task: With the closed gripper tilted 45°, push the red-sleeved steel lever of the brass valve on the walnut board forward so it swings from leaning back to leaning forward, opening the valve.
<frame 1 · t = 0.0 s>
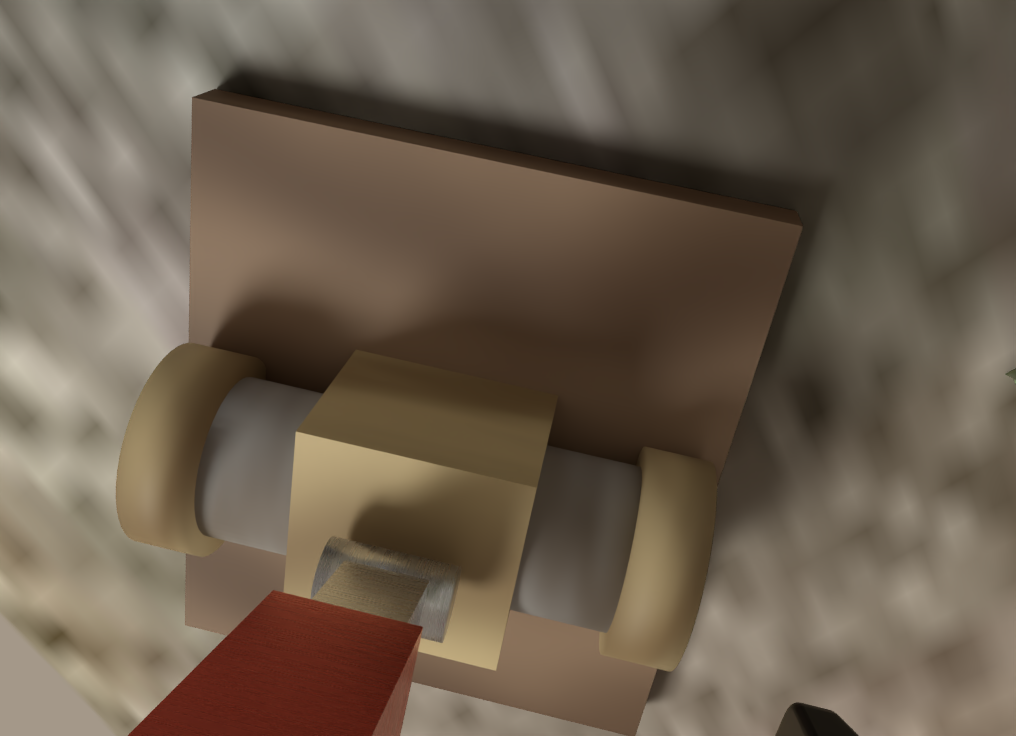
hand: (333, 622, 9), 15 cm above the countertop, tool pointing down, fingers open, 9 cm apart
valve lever: (333, 672, 15), point 10 cm above the countertop, hinge at -20.0°
valve stand: (451, 436, 25), on the countertop
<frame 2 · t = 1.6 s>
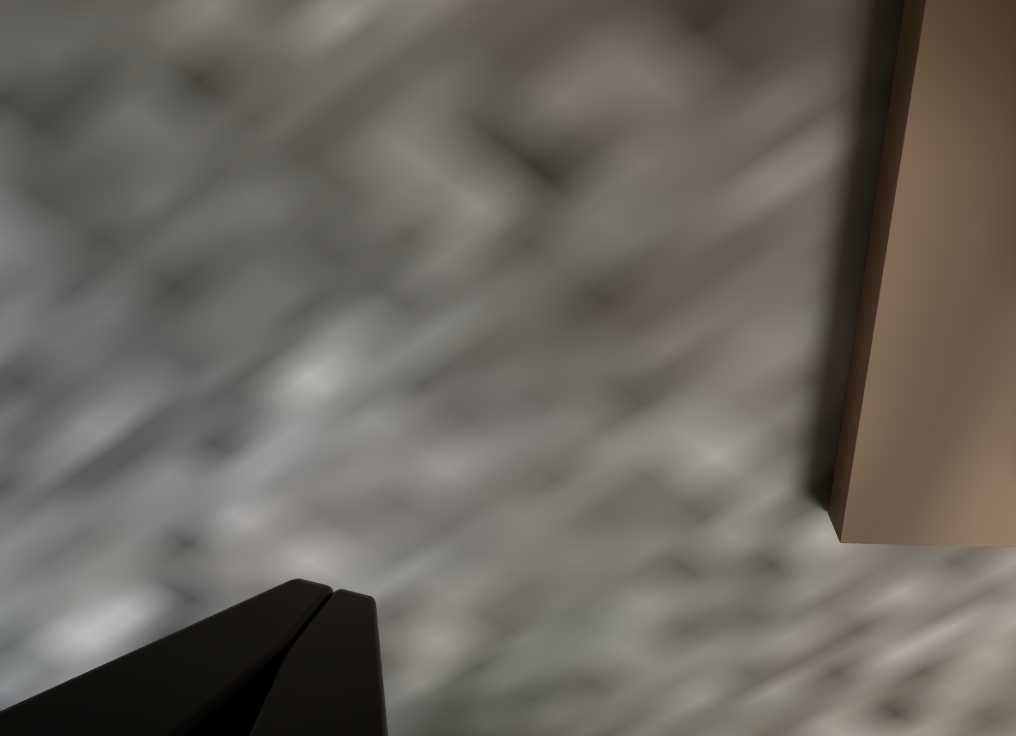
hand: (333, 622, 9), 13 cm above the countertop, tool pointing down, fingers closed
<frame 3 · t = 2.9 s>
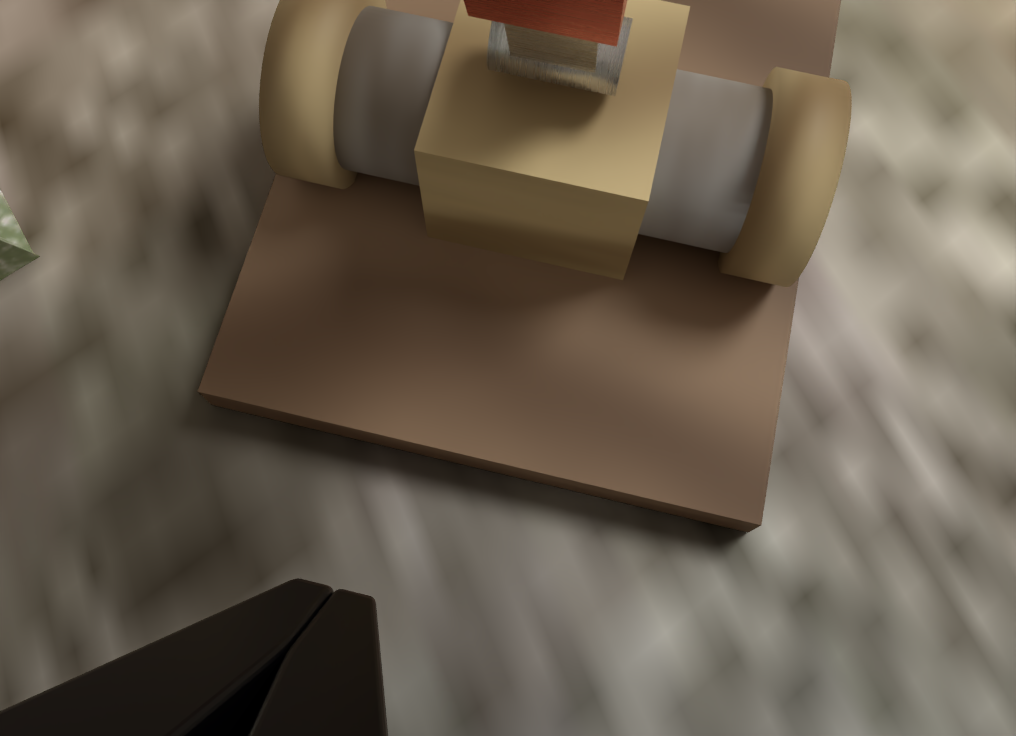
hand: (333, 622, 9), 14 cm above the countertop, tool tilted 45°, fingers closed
valve stand: (544, 194, 26), on the countertop
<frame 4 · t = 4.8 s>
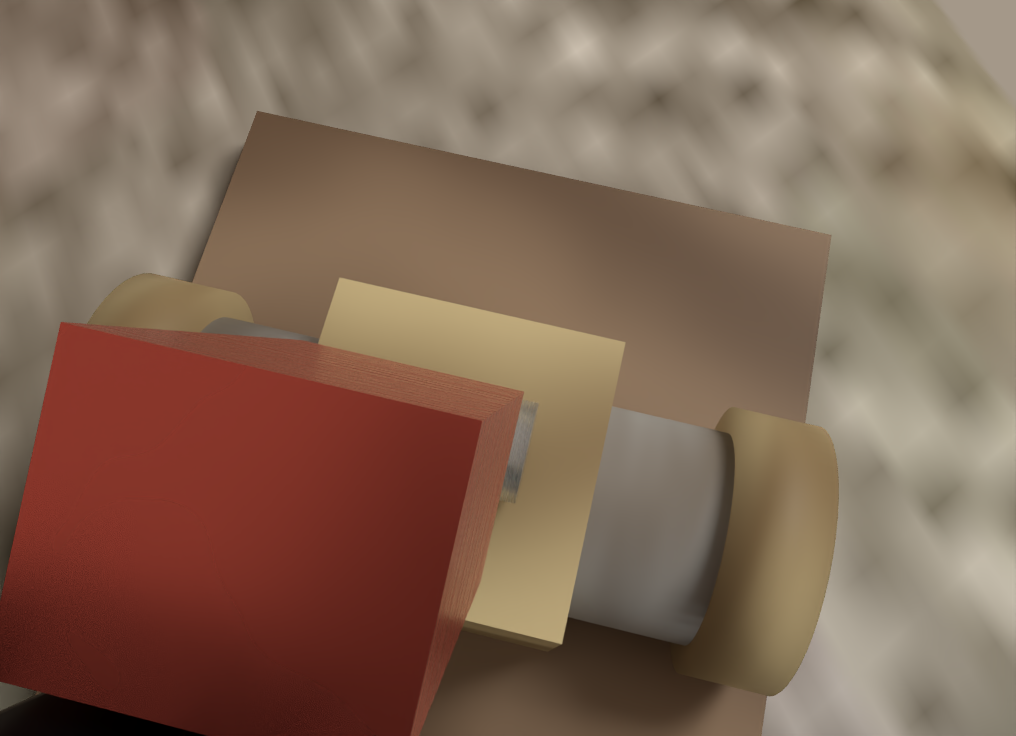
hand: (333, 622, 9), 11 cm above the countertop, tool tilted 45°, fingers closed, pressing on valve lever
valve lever: (388, 461, 10), point 10 cm above the countertop, hinge at -19.6°, touching gripper
valve stand: (456, 506, 21), on the countertop
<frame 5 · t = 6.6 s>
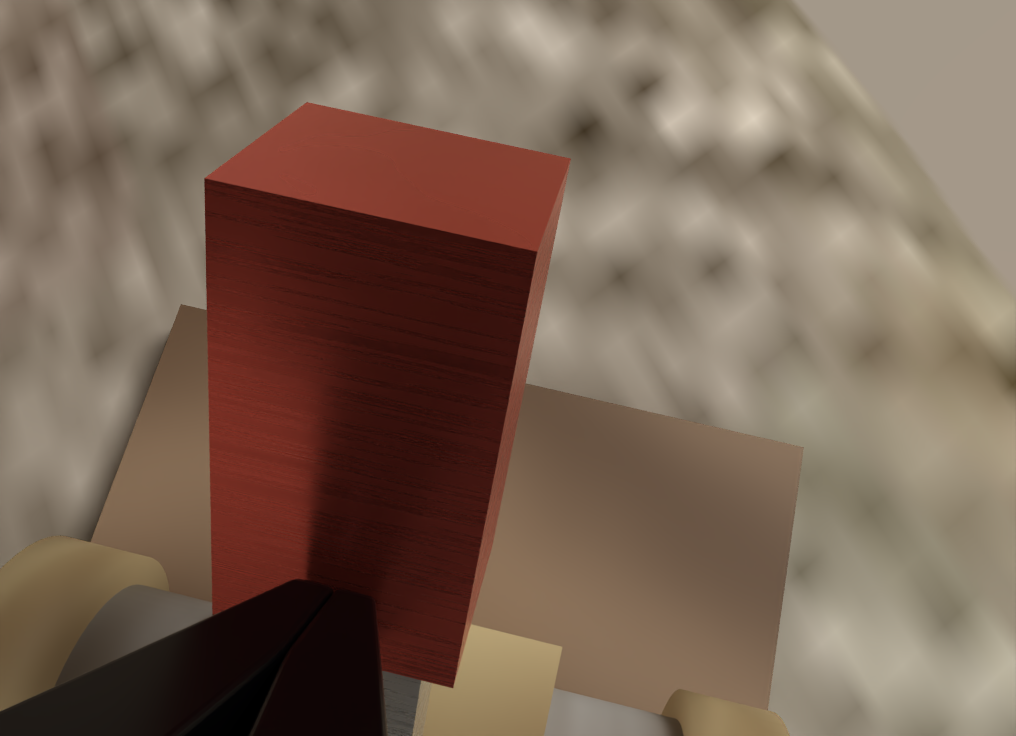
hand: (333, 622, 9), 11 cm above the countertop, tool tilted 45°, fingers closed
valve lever: (364, 577, 10), point 10 cm above the countertop, hinge at 39.4°
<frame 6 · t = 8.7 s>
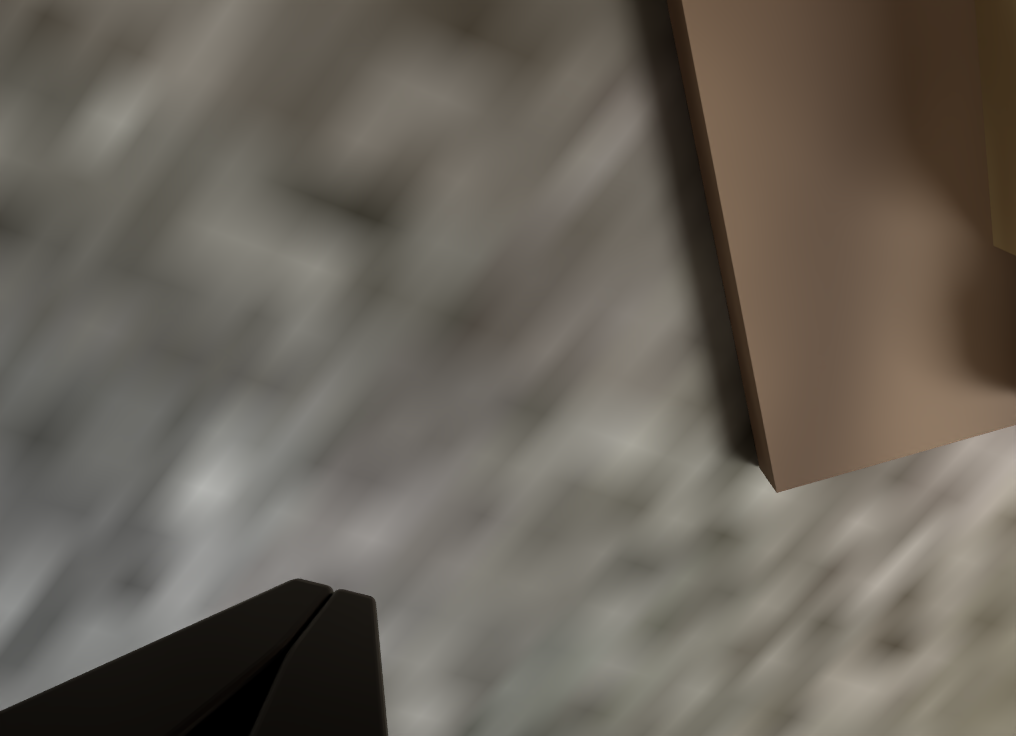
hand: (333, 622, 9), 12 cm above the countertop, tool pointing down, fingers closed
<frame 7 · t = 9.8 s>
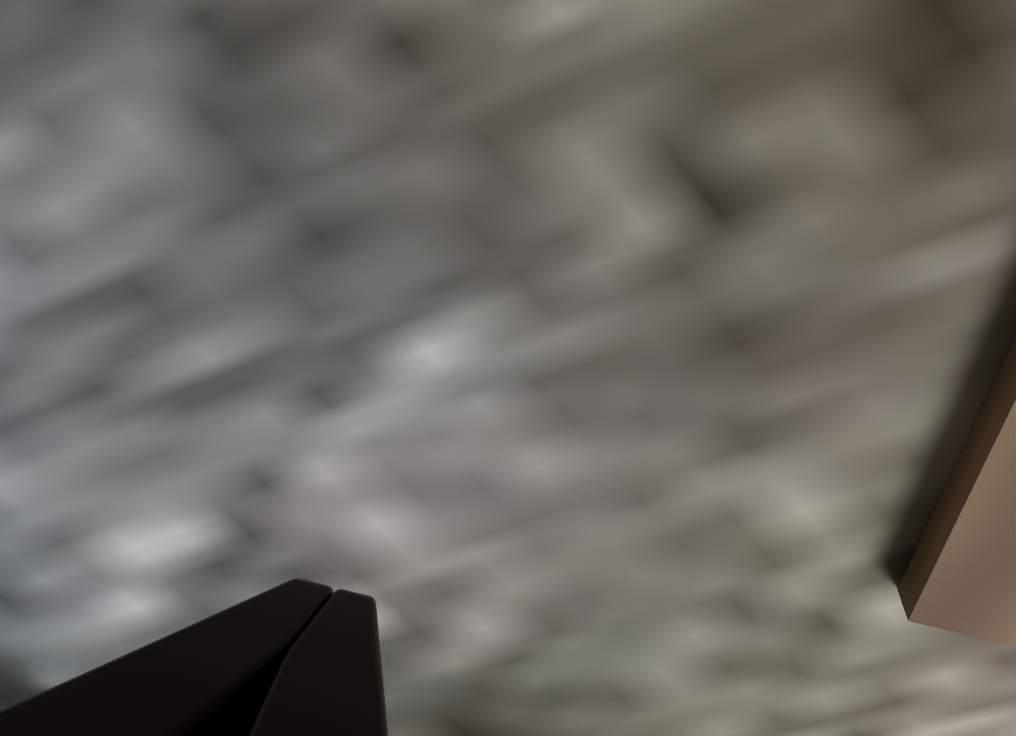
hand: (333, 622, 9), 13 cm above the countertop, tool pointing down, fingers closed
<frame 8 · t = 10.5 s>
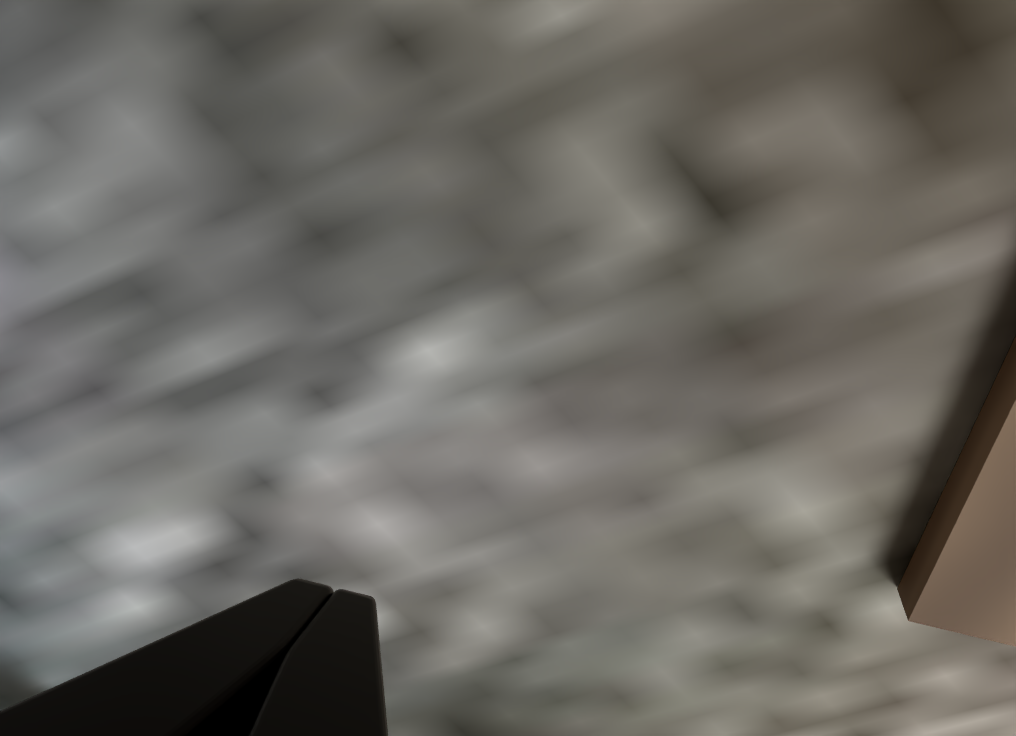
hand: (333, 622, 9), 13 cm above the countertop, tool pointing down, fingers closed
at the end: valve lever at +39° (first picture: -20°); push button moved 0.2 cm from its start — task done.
